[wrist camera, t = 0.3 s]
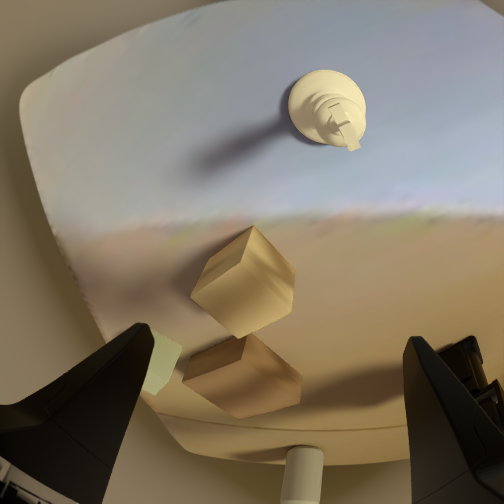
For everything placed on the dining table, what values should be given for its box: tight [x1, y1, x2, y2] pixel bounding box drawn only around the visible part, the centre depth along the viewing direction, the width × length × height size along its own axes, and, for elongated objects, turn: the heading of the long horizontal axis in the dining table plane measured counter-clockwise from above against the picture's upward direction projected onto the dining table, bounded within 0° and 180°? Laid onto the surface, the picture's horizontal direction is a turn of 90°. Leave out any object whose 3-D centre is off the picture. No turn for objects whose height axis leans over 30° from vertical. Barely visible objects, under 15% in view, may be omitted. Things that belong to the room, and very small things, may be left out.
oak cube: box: [190, 225, 295, 339], centre depth 22 cm, size 5×5×5 cm
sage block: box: [142, 328, 183, 396], centre depth 31 cm, size 5×5×5 cm
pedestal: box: [182, 333, 302, 419], centre depth 31 cm, size 9×9×4 cm
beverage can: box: [280, 445, 324, 504], centre depth 39 cm, size 6×6×12 cm
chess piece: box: [288, 70, 366, 152], centre depth 13 cm, size 5×5×10 cm
